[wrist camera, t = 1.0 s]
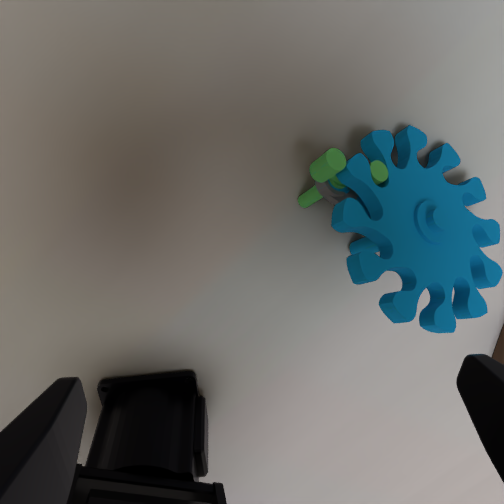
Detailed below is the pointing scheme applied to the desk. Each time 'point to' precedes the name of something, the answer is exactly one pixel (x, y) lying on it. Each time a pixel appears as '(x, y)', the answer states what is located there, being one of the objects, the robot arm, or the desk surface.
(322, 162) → the gear
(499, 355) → the joist marks
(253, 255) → the desk surface
